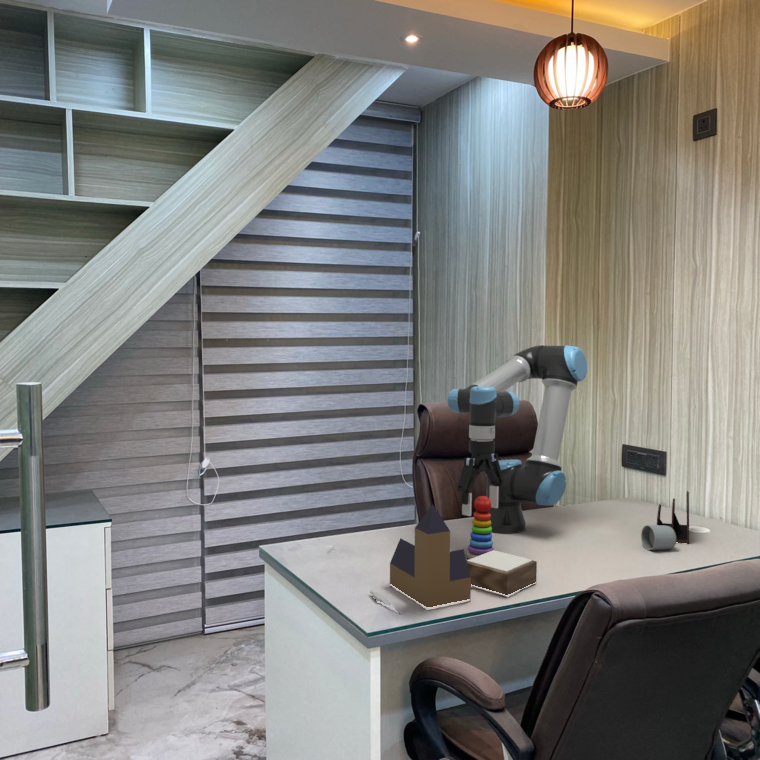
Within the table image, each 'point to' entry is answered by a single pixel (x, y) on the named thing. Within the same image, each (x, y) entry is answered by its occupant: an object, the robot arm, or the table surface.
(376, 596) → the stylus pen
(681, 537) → the letter holder
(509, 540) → the table surface
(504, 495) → the robot arm
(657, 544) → the ceramic mug
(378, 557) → the table surface
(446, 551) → the toy building blocks
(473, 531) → the stacking toy
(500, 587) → the base block
